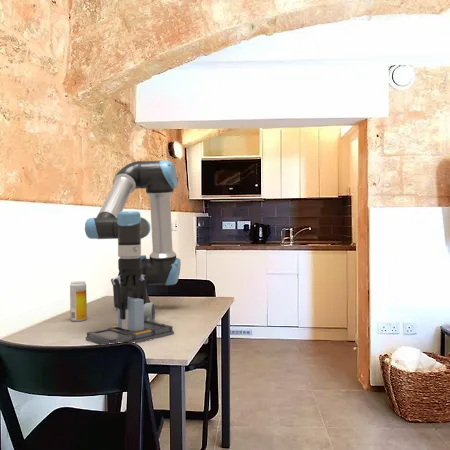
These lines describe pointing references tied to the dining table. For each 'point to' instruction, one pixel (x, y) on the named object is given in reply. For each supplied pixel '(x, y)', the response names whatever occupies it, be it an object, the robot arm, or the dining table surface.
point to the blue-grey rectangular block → (134, 314)
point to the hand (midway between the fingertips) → (130, 327)
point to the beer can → (78, 301)
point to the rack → (129, 334)
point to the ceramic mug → (149, 312)
